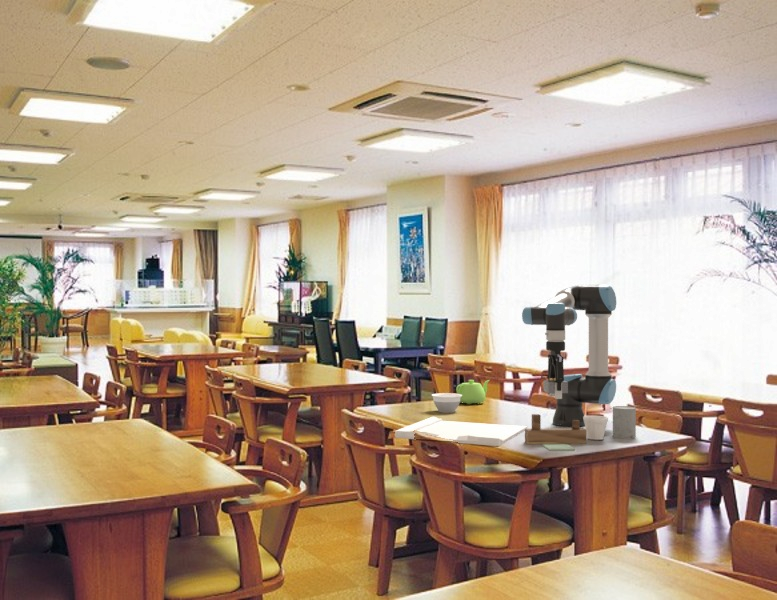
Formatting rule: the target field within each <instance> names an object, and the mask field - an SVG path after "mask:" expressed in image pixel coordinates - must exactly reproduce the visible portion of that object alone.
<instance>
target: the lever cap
mask: <svg viewBox="0 0 777 600" xmlns="http://www.w3.org/2000/svg"><path fill="white" fill-rule="evenodd" d="M554 381H556V379H555V378H550V380H549V379H547V380H545V379H544V380H543V392H545V393H547V394H550V393H555V383H554ZM562 393H568V382H567V381H563V382H562Z"/></svg>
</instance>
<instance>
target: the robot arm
mask: <svg viewBox="0 0 777 600" xmlns="http://www.w3.org/2000/svg"><path fill="white" fill-rule="evenodd" d="M616 308H617V296H616V293H615V290H614V288H613V287H612V286H611V285H608V284H585V285H584V284H578V285H574V286H573V285H572V286H570V287H567V288H565V289H562V290H560V291H558V292H557V293H556V295H555V296H554V297H552V298H549V299H548V300H546V301H544V302H542V303H540V304H538V305H536V306H525V307H524V308H523V309H522V312H521V319H522V322H523V324H525V325H529V326H530V325H531V326H533V325H534V326H545V327H546V329H545V331H546V332H544V334H545V336H546V337H545V338H546V339H545V340H546V342H545V347H546V348H545V350H546V351H548V352H550V354H549V353H548V355H547V358H548V359H547V360H548V361H547V378H548V380H550V378H555V379H556V381H554V383H555V393H549V397H554V399H555V400H556V409H555V411H554V415H553V418H552V424H553V425H555V426H561V427H570V428H572V420H580V427H585V424H584V420H583V417H584V416H586V415H585V412H584V410H583V409H584V408H583V404H595V405H610V404H611V403H612V402H613V401H614V398H615V396H616V393H617V383H616V379H614V378H612V374H611V373H610V372H609V318H610V317H611V316H612V314H613V313H612V311H615V310H616ZM577 311H584V313H585V316H586V317H587V318H588V371H586V373H585V375H584V376H583V374H582V373H573V374H565V372H564V356H562V354H561V352H564V351H566V342H565V340H566V326H570V325H573V324H575V322H577V319H578V313H577ZM563 381H567V382H568V393H562V382H563Z"/></svg>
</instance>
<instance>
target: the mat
mask: <svg viewBox="0 0 777 600" xmlns="http://www.w3.org/2000/svg"><path fill="white" fill-rule="evenodd" d="M541 445H542V447H543V448H545V449H546V450H548V451H558V452H559V451H576V448H574V447H572V445H570V444H541Z"/></svg>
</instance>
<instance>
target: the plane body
mask: <svg viewBox="0 0 777 600" xmlns="http://www.w3.org/2000/svg"><path fill="white" fill-rule="evenodd" d="M541 420H542V419H541V414H537V413H535V414H533V413H532V414H531V428H527V429H525V431H524V443H525V444H527V445H542V444H568V445H570V444H571V445H574V444H575V445H577V444H587V433H586V428H583V427H581V426H580V420H572V427H561V428H560V427H559V428H557V427H556V428H552V427H551V428H549V427H548V428H546V427H545V428H544V427H543V428H542V427H541V424H542V423H541Z"/></svg>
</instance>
